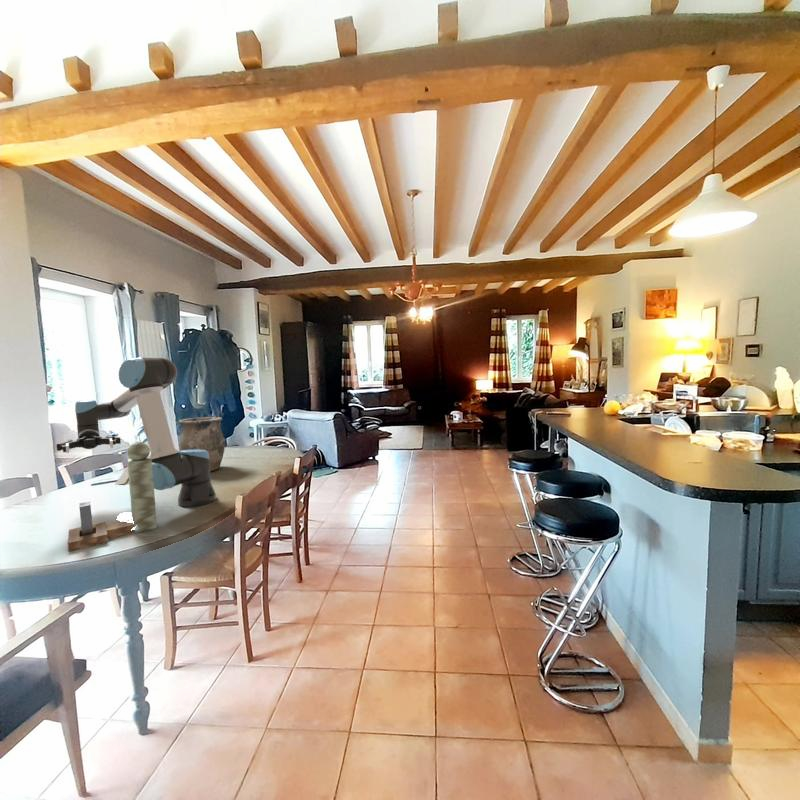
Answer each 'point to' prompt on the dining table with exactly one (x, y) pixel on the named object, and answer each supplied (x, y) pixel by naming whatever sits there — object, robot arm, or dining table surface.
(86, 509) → the grey rectangular block
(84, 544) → the knobbed post on base
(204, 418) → the clay pot
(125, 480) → the wall
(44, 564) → the dining table surface
